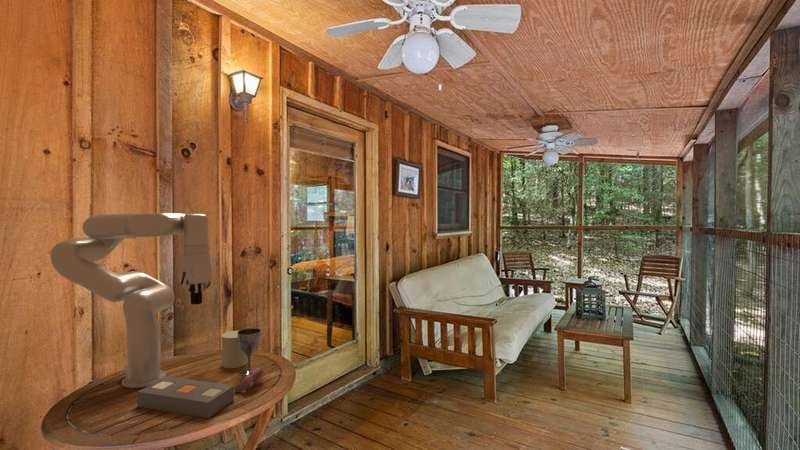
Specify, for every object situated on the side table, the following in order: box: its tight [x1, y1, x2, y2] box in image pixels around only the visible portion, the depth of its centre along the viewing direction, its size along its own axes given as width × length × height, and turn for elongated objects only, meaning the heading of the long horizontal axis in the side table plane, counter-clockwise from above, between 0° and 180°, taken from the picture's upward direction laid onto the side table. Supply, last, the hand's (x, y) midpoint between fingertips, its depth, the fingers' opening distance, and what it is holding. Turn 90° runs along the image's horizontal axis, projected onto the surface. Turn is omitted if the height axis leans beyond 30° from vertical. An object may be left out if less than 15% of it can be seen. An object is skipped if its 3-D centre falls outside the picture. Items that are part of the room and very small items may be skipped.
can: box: [221, 330, 248, 369], centre depth 148 cm, size 9×9×12 cm
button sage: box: [201, 388, 223, 397], centre depth 115 cm, size 4×4×3 cm
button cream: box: [151, 381, 174, 390], centre depth 119 cm, size 4×4×3 cm
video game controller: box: [234, 367, 265, 393], centre depth 128 cm, size 10×5×7 cm, turn 170°
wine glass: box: [237, 327, 262, 377], centre depth 140 cm, size 8×8×15 cm
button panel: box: [137, 376, 235, 419], centre depth 117 cm, size 25×11×4 cm, turn 76°
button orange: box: [175, 385, 198, 393], centre depth 117 cm, size 4×4×3 cm
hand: (196, 303), depth 131 cm, fingers closed
